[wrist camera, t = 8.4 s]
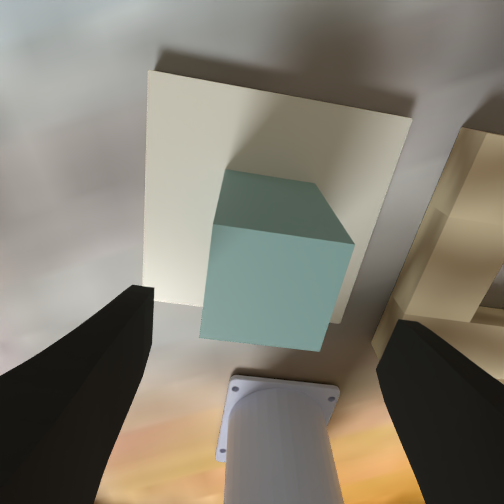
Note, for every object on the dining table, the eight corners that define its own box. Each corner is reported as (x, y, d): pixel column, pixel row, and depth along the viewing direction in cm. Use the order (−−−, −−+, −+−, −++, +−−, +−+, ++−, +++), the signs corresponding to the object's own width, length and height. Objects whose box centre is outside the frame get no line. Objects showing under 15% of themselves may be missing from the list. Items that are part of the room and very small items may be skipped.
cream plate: (336, 313, 22) (339, 324, 21) (146, 289, 21) (142, 299, 20) (403, 116, 17) (412, 118, 16) (153, 70, 16) (148, 70, 15)
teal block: (295, 261, 19) (319, 351, 13) (214, 250, 19) (199, 337, 12) (315, 183, 17) (355, 244, 11) (225, 169, 17) (212, 223, 10)
